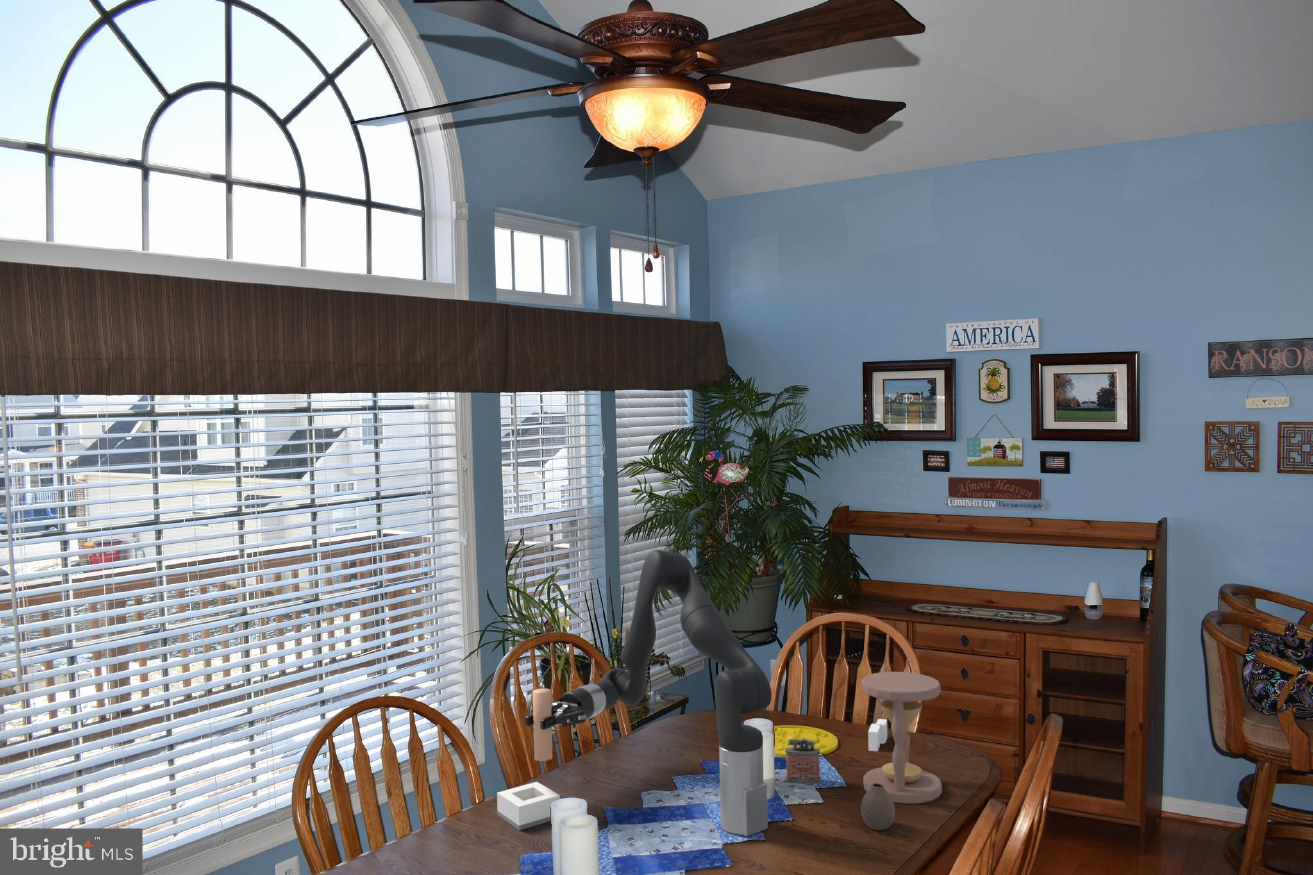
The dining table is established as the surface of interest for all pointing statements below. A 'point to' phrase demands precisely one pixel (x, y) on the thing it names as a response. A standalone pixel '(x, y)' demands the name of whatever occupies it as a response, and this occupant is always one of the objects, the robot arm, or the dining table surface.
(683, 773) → the dining table surface
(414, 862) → the dining table surface
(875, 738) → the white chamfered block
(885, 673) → the hourglass
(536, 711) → the peg
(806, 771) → the lighter
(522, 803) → the bore block
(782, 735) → the decorative medallion
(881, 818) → the vase
